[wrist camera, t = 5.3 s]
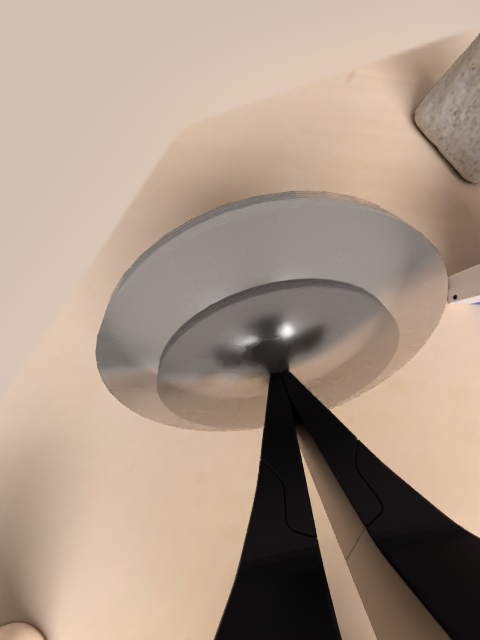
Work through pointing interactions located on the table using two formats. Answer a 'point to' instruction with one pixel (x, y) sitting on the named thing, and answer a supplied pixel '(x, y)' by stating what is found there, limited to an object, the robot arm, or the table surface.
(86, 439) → the table surface
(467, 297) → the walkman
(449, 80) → the decorative stone
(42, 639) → the beer glass
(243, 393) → the cooker lid
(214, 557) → the table surface
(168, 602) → the table surface
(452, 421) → the table surface
